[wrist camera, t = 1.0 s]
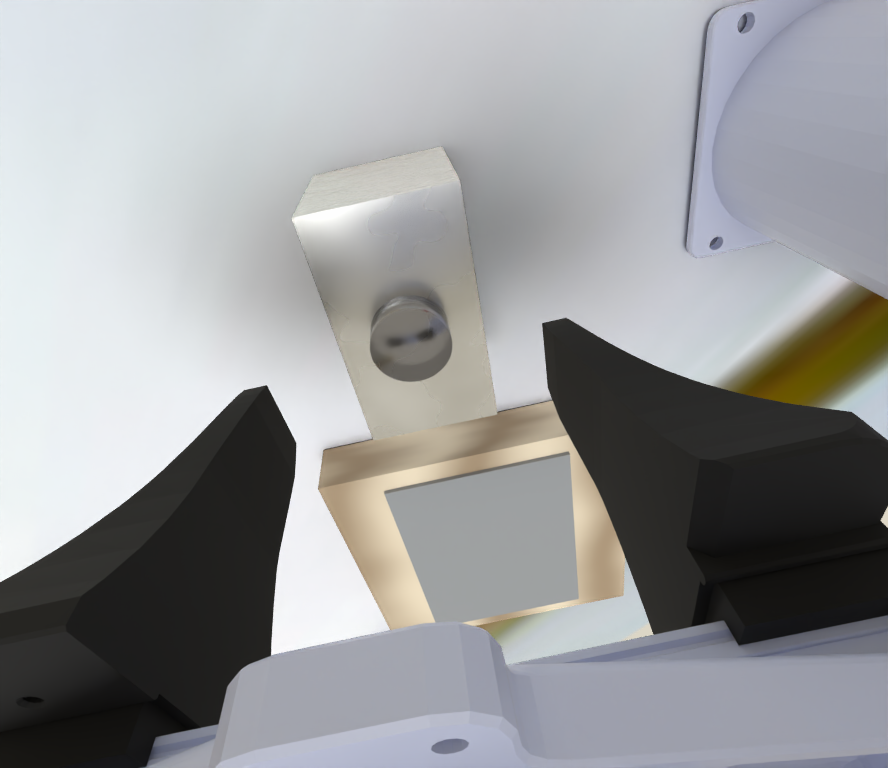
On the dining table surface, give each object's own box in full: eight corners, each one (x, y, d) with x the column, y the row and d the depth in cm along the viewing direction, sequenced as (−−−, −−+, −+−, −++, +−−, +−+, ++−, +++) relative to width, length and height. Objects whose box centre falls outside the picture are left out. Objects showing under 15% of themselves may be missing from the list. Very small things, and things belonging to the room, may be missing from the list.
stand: (608, 388, 23) (631, 424, 21) (608, 559, 32) (624, 598, 29) (323, 450, 24) (317, 492, 22) (395, 603, 32) (396, 645, 30)
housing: (441, 145, 17) (465, 190, 12) (475, 342, 21) (503, 432, 17) (313, 174, 17) (285, 230, 12) (375, 364, 22) (372, 460, 17)
